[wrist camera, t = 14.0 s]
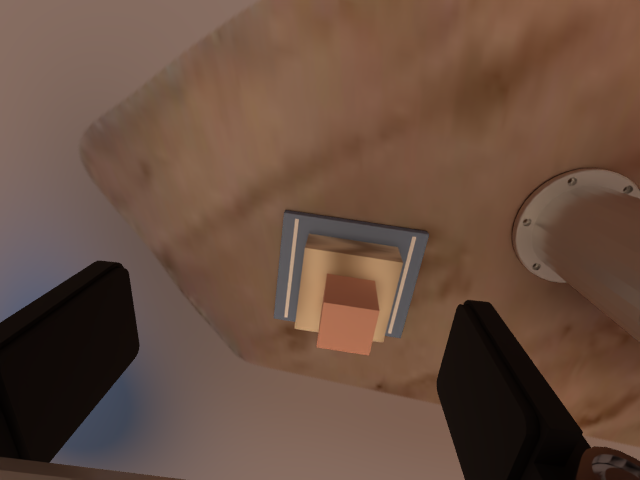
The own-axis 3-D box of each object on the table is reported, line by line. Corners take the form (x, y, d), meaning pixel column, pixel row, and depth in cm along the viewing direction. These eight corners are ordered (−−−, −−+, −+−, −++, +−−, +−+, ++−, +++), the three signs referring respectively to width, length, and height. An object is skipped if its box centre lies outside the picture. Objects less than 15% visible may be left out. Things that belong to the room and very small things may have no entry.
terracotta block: (374, 280, 35) (379, 311, 30) (366, 320, 37) (368, 355, 32) (327, 273, 35) (323, 302, 30) (320, 313, 37) (316, 347, 32)
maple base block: (397, 247, 38) (403, 262, 34) (379, 321, 42) (382, 342, 38) (308, 233, 38) (304, 247, 35) (299, 308, 42) (294, 328, 38)
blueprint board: (427, 231, 38) (429, 234, 37) (399, 333, 44) (400, 338, 42) (285, 210, 38) (283, 212, 37) (275, 313, 44) (273, 318, 43)
